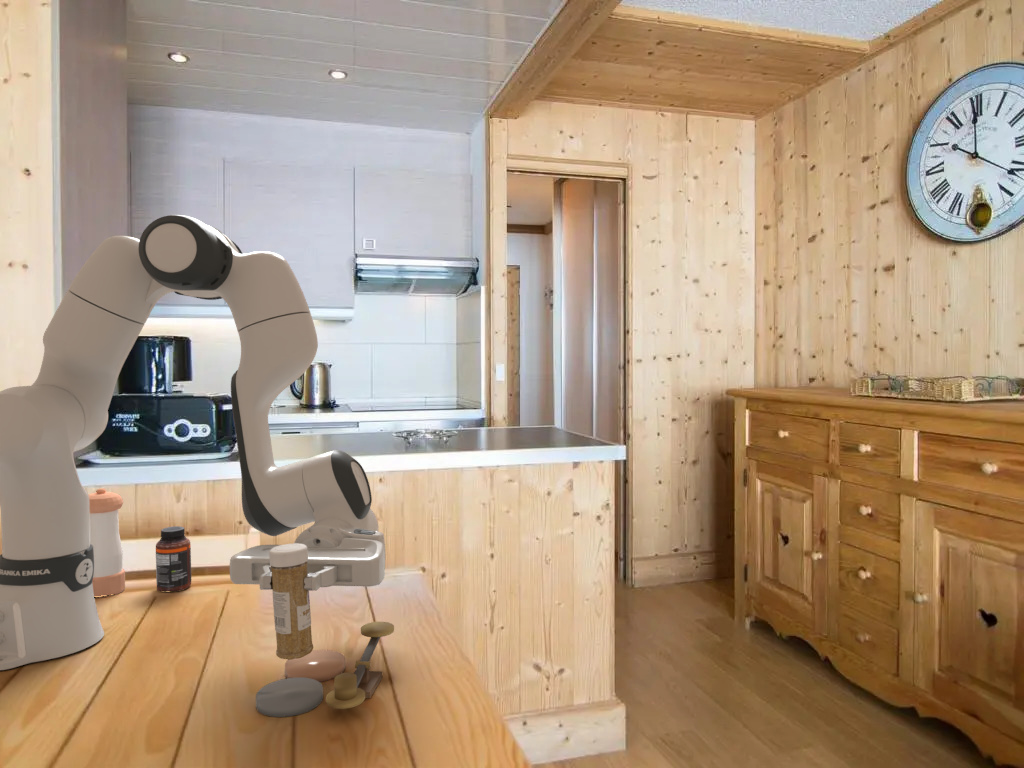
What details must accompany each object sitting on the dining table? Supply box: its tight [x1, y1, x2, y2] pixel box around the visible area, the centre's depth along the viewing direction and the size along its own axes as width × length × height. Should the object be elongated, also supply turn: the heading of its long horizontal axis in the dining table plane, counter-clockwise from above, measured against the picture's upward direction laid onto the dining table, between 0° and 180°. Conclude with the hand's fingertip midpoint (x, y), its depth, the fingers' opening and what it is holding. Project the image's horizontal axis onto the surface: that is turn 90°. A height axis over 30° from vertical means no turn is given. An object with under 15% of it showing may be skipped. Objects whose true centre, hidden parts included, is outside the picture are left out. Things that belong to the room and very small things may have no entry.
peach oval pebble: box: [284, 649, 346, 683], centre depth 98 cm, size 8×8×1 cm
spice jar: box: [269, 542, 314, 661], centre depth 89 cm, size 5×5×13 cm
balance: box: [325, 621, 395, 710], centre depth 93 cm, size 5×19×5 cm, turn 176°
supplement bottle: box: [155, 526, 192, 592], centre depth 133 cm, size 6×6×11 cm
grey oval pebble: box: [255, 677, 324, 718], centre depth 89 cm, size 8×8×1 cm
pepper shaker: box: [88, 487, 126, 596], centre depth 131 cm, size 7×7×19 cm
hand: (287, 584), depth 88 cm, fingers closed on spice jar, 4 cm apart
